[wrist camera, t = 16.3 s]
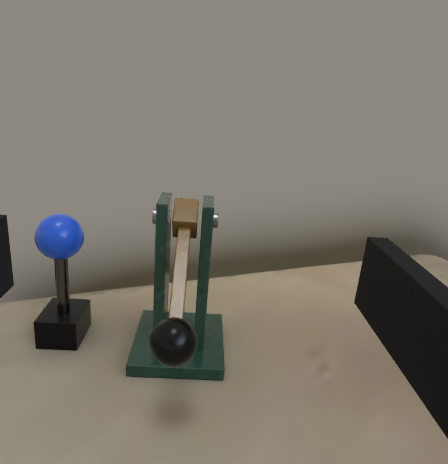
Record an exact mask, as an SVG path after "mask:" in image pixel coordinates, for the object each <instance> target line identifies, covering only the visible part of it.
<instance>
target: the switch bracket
mask: <svg viewBox="0 0 448 464" xmlns="http://www.w3.org/2000/svg"><path fill="white" fill-rule="evenodd" d="M171 215H172V193H165V192H163V193H162V194H161V196H160V198H159V200H158V202H157V204H156V209H154V210H153V217H152V221H153V223H154V224H156V237H155V273H154V307H153V311H148V310H143V313H142V316H141V319H140V322H139V326H138V329H137V332H136V335H135V339H134V342H133V345H132V348H131V351H130V355H129V358H128V361H127V364H126V376H138V377H160V378H182V379H205V380H224V352H223V333H222V315H221V314H206V309H207V296H208V282H209V269H210V256H211V242H212V230H213V228H217V227H218V213H214V197H213V196H206V195H204V196H203V211H202V225H201V240H200V255H199V270H198V285H197V300H196V313H185V312H184V316H183V319H184V320H186V321H188V322H189V323H190V324H191V325H192V326H193V327H194V329H195V331H196V334H197V338H198V345H197V349H196V352H195V354H194V356H193V357H192V358H191V359H190V360H189V361H188V362H187V363H185V364H183V365H181V366H178V367H168V366H165V365H162V364H160V363H159V362H158V361H157V360H156V359H155V358H154V357H153V355H152V353H151V350H150V345H149V341H150V336H151V333H152V331H153V329H154V328H155V326H156V325H157V324H158V323H159V322H161V321H162V320H164V319H167V318H169V312H168V288H169V262H170V239H171Z"/></svg>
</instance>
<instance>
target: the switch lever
mask: <svg viewBox="0 0 448 464" xmlns="http://www.w3.org/2000/svg"><path fill="white" fill-rule="evenodd" d="M198 206H199V200H197V199H183V198H175V204H174V212H173V221H172V226H173V237H177V246H176V255H175V264H174V273H173V282H172V291H171V300H170V309H169V318H167V319H164V320H162V321H161V322H159V323H158V324H157V325H156V326H155V328H154V329H153V331H152V333H151V336H150V341H149V345H150V350H151V353H152V355H153V357H154V358H155V359H156V360H157V361H158V362H159V363H160V364H162V365H165V366H168V367H178V366H181V365H183V364H185V363H187V362H188V361H189V360H190V359H191V358H192V357H193V356H194V354H195V352H196V349H197V345H198V338H197V334H196V331H195V329H194V327H193V326H192V325H191V324H190V323H189V322H188V321H186V320H184V319H183V316H184V304H185V293H186V281H187V268H188V258H189V246H190V238H196V235H197V222H198Z"/></svg>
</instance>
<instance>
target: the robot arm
mask: <svg viewBox="0 0 448 464" xmlns="http://www.w3.org/2000/svg"><path fill="white" fill-rule="evenodd" d="M13 285H14V283H13V273H12V264H11V253H10V244H9V234H8V226H7V216H6V215H0V298H1V297H2V296H3V295H4V294H5V293H6V292H7V291H8V290H9V289H10V288H11V287H12V286H13ZM354 303H355V304H356V306H357V307H358V309H359V310H360V312H361V313H362V315H363V316H364V317H365V319H366V320H367V322H368V323H369V325H370V326H371V328H372V329H373V331H374V332H375V333H376V335H377V336H378V338H379V339H380V341H381V342H382V344H383V345H384V347H385V348H386V349H387V351H388V352H389V354H390V355H391V357H392V358H393V360H394V361H395V363H396V364H397V365H398V367H399V368H400V370H401V371H402V373H403V374H404V376H405V377H406V379H407V380H408V382H409V383H410V384H411V386H412V387H413V389H414V390H415V392H416V393H417V395H418V396H419V398H420V399H421V400H422V402H423V403H424V405H425V406H426V408H427V409H428V411H429V412H430V414H431V415H432V416H433V418H434V419H435V421H436V422H437V424H438V425H439V427H440V428H441V430H442V431H443V432H444V434H445V435H446V437H447V438H448V287H447V286H445V285H444V284H443V283H442V282H440V281H439V280H438V279H437V278H436V277H434V276H433V275H432V274H431V273H429V272H428V271H427V270H426V269H425V268H423V267H422V266H421V265H420V264H418V263H417V262H416V261H415V260H414V259H412V258H411V257H410V256H409V255H407V254H406V253H405V252H404V251H402V250H401V249H400V248H399V247H397V246H396V245H395V244H394V243H393V242H391V241H390V240H389V239H388V238H375V237H367V243H366V247H365V252H364V257H363V262H362V267H361V272H360V277H359V282H358V287H357V292H356V297H355V302H354Z"/></svg>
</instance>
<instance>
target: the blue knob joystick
mask: <svg viewBox="0 0 448 464" xmlns="http://www.w3.org/2000/svg"><path fill="white" fill-rule="evenodd" d="M83 241H84V232H83V229H82V226H81V225H80V223H79V222H78V221H77V220H76V219H74V218H73V217H71V216H69V215H66V214H54V215H50V216H48V217H46V218H44V219H43V220H42V221H41V222H40V223H39V225H38V226H37V228H36V231H35V243H36V245H37V247H38V249H39V250H40V251H41V253H43V254H44V255H45V256H47V257H49V258H52V259H54V261H55V279H56V296H57V298H52V299H51V301H50V302H49V303H48V304H47V306H46V307H45V308H44V310H43V311H42V312H41V313H40V315H39V316H38V317H37V319H36V320H35V321H34V331H35V343H36V348H39V349H60V350H77V349H78V347H79V345H80V343H81V341H82V339H83V337H84V336H85V334H86V332H87V330H88V328H89V326H90V324H91V311H90V300H87V299H69V279H68V259H67V258H69V257H71V256H73V255H75V254H76V253H77V252H78V251H79V250H80V248H81V247H82V244H83Z"/></svg>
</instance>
